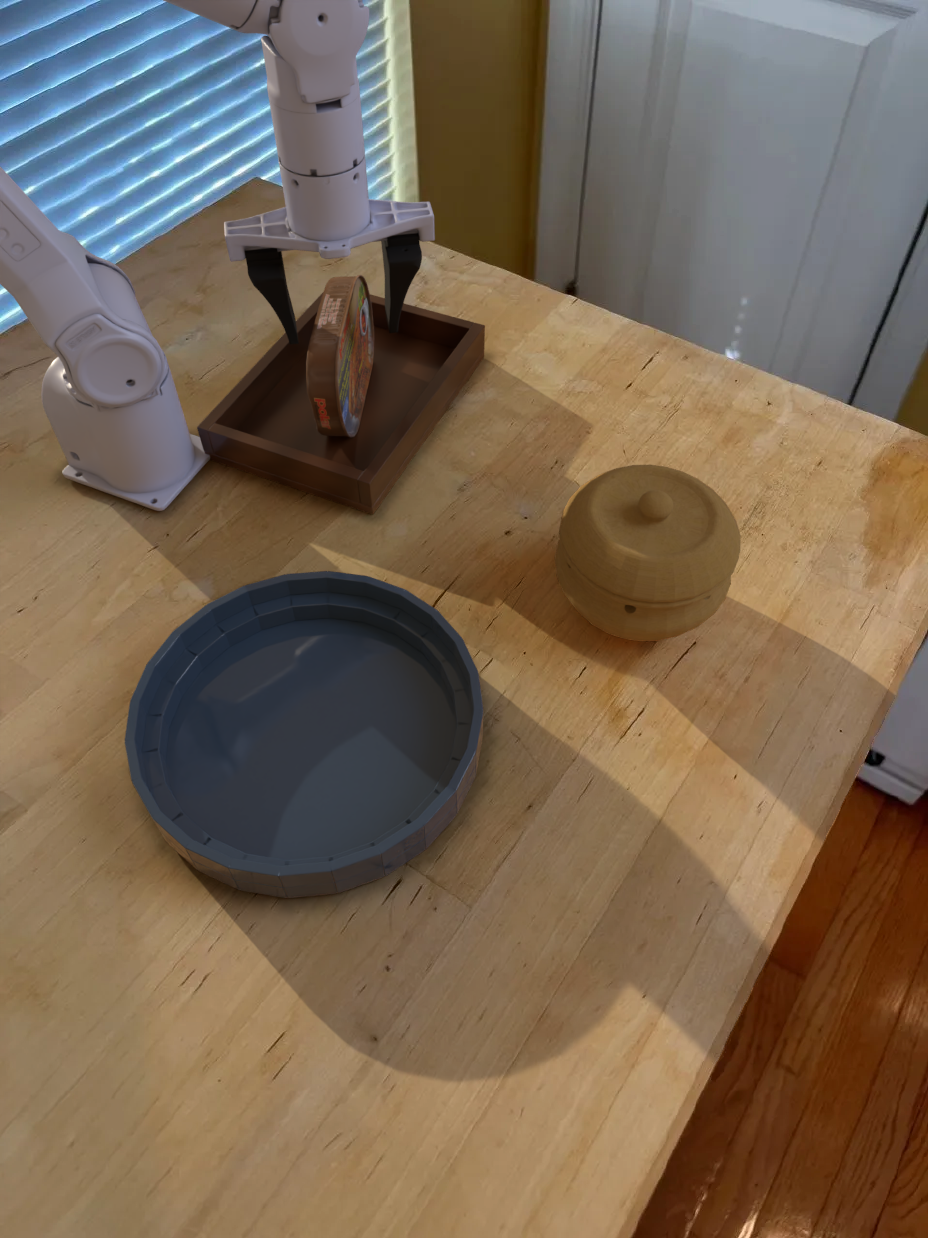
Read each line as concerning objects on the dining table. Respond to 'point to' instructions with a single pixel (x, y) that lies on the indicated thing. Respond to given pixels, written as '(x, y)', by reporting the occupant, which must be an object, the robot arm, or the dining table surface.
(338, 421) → the tin
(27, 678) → the dining table surface
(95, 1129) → the dining table surface
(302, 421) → the holder
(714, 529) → the pot
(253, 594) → the bowl
